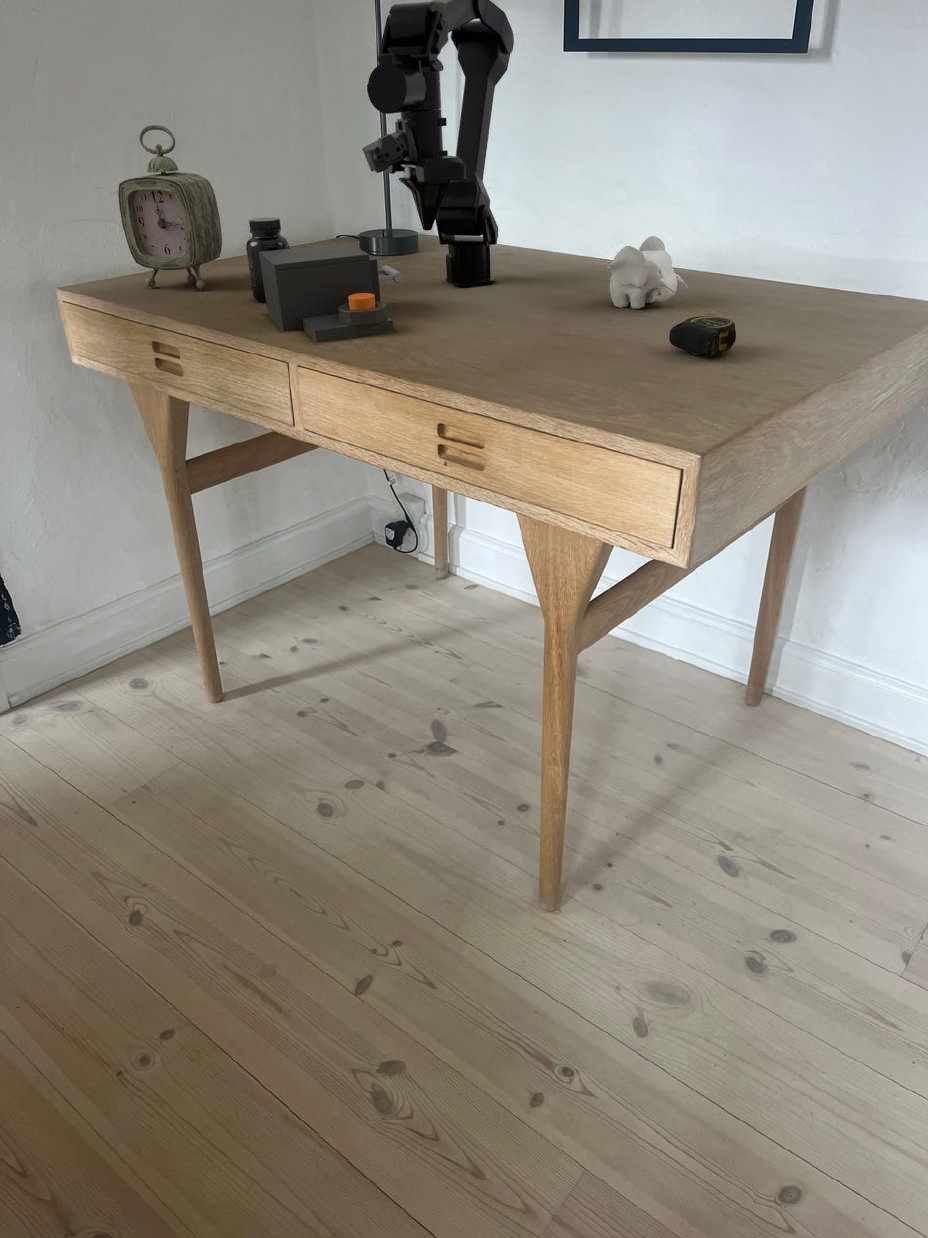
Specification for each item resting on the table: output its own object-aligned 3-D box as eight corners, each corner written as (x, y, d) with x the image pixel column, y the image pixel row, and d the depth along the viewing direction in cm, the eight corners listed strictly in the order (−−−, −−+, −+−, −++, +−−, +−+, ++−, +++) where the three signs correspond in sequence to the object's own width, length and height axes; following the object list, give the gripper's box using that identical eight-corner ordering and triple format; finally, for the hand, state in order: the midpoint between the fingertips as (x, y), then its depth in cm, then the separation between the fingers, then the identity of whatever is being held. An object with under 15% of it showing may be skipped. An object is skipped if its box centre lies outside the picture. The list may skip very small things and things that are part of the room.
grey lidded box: (354, 304, 144) (347, 242, 139) (375, 319, 134) (369, 254, 130) (267, 314, 140) (258, 251, 135) (283, 331, 130) (274, 264, 126)
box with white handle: (388, 294, 144) (384, 245, 140) (409, 307, 136) (405, 255, 132) (283, 307, 139) (276, 257, 136) (298, 322, 131) (291, 268, 127)
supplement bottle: (287, 303, 146) (276, 222, 140) (247, 302, 147) (234, 222, 141) (301, 293, 152) (292, 215, 146) (263, 293, 153) (251, 215, 147)
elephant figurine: (668, 316, 129) (673, 249, 125) (591, 308, 135) (593, 244, 130) (693, 301, 136) (699, 237, 131) (619, 294, 142) (622, 233, 137)
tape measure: (665, 352, 114) (667, 321, 112) (703, 341, 117) (706, 311, 115) (706, 363, 109) (709, 331, 107) (745, 352, 112) (749, 321, 110)
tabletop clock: (136, 289, 160) (101, 127, 147) (168, 278, 167) (138, 123, 154) (205, 292, 155) (175, 126, 142) (235, 282, 162) (209, 121, 149)
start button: (371, 304, 129) (370, 291, 128) (378, 309, 126) (377, 296, 125) (346, 307, 128) (345, 294, 127) (353, 313, 125) (352, 299, 124)
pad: (377, 320, 134) (375, 295, 132) (395, 333, 127) (393, 307, 125) (303, 330, 131) (300, 304, 129) (318, 344, 124) (314, 317, 122)
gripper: (347, 111, 133) (358, 227, 141) (385, 114, 118) (394, 243, 126) (420, 107, 137) (426, 220, 145) (465, 110, 122) (469, 236, 130)
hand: (427, 229), depth 136 cm, fingers closed
